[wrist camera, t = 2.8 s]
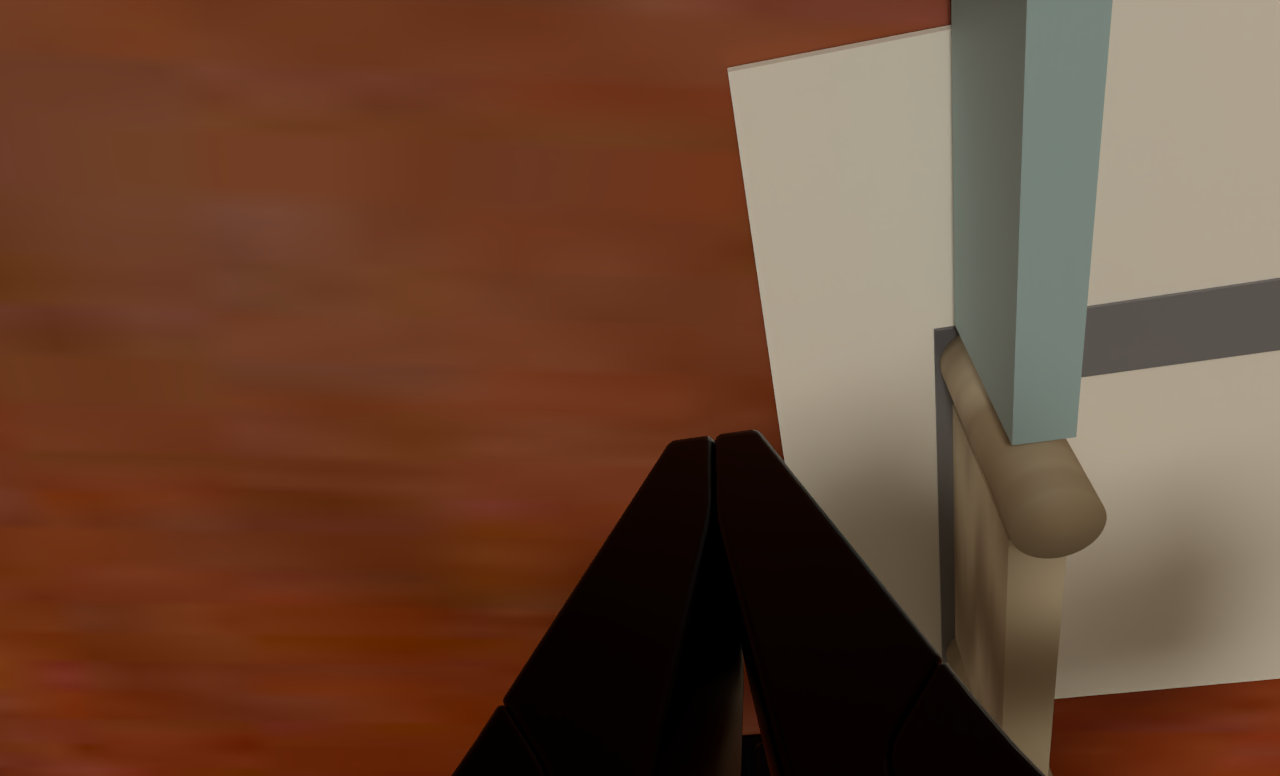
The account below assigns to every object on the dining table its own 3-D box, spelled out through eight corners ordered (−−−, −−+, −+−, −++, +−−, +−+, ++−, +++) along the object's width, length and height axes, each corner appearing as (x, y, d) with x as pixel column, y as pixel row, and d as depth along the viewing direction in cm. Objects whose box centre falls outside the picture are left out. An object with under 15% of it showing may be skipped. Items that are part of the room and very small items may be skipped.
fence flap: (1019, 314, 22) (1112, 468, 17) (941, 326, 22) (1011, 480, 17) (1041, -265, 15) (1197, -270, 11) (930, -240, 16) (1034, -234, 11)
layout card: (1415, 657, 29) (1424, 668, 28) (820, 712, 31) (822, 722, 31) (1744, -129, 17) (1765, -126, 16) (727, 68, 19) (728, 73, 19)
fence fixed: (1003, 662, 29) (1068, 848, 24) (945, 668, 29) (998, 853, 25) (1015, 320, 22) (1110, 484, 17) (937, 332, 22) (1010, 496, 17)
